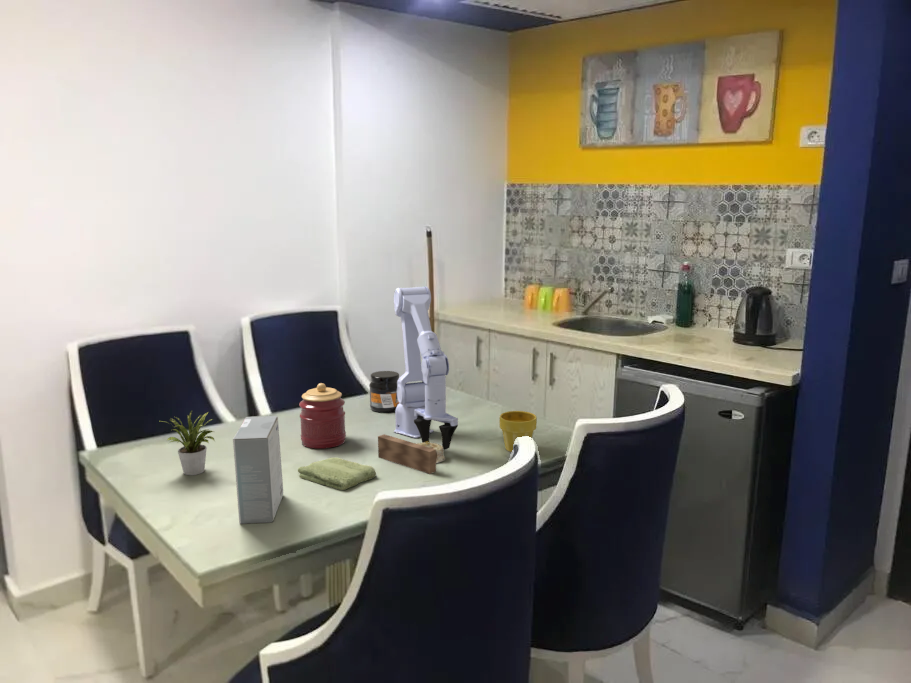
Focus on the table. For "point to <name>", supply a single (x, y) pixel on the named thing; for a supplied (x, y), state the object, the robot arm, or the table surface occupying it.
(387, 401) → the supplement container
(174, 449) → the table surface
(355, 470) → the washcloth
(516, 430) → the plant pot
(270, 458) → the hard drive box
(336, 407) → the canister
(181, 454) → the house plant
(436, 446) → the cake
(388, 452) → the walnut board
